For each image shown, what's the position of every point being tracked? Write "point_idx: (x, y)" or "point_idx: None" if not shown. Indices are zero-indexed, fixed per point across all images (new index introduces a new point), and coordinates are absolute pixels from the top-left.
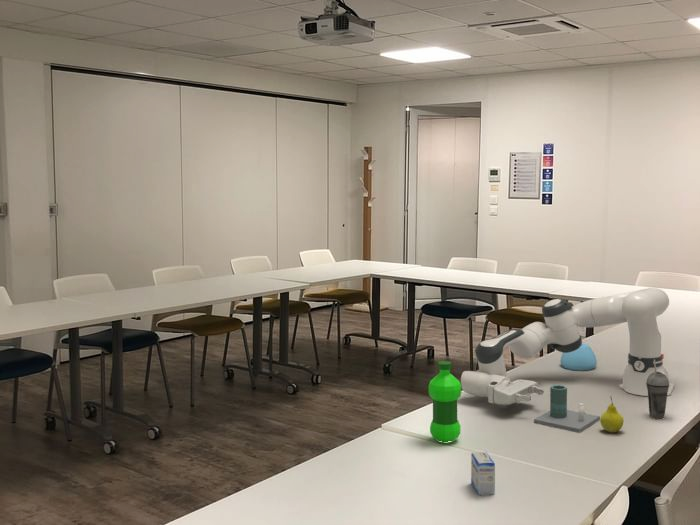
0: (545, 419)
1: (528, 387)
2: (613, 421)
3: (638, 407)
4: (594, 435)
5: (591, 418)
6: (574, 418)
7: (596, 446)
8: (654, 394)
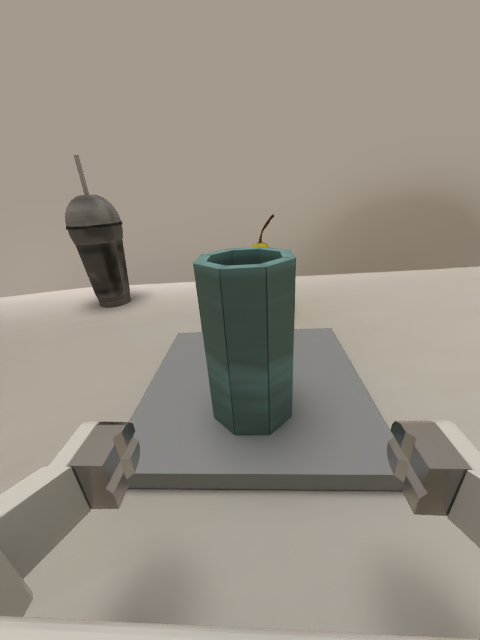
0: (350, 425)
1: (59, 621)
2: None
3: (33, 327)
4: (316, 320)
5: None
6: None
7: (377, 304)
8: (120, 245)
